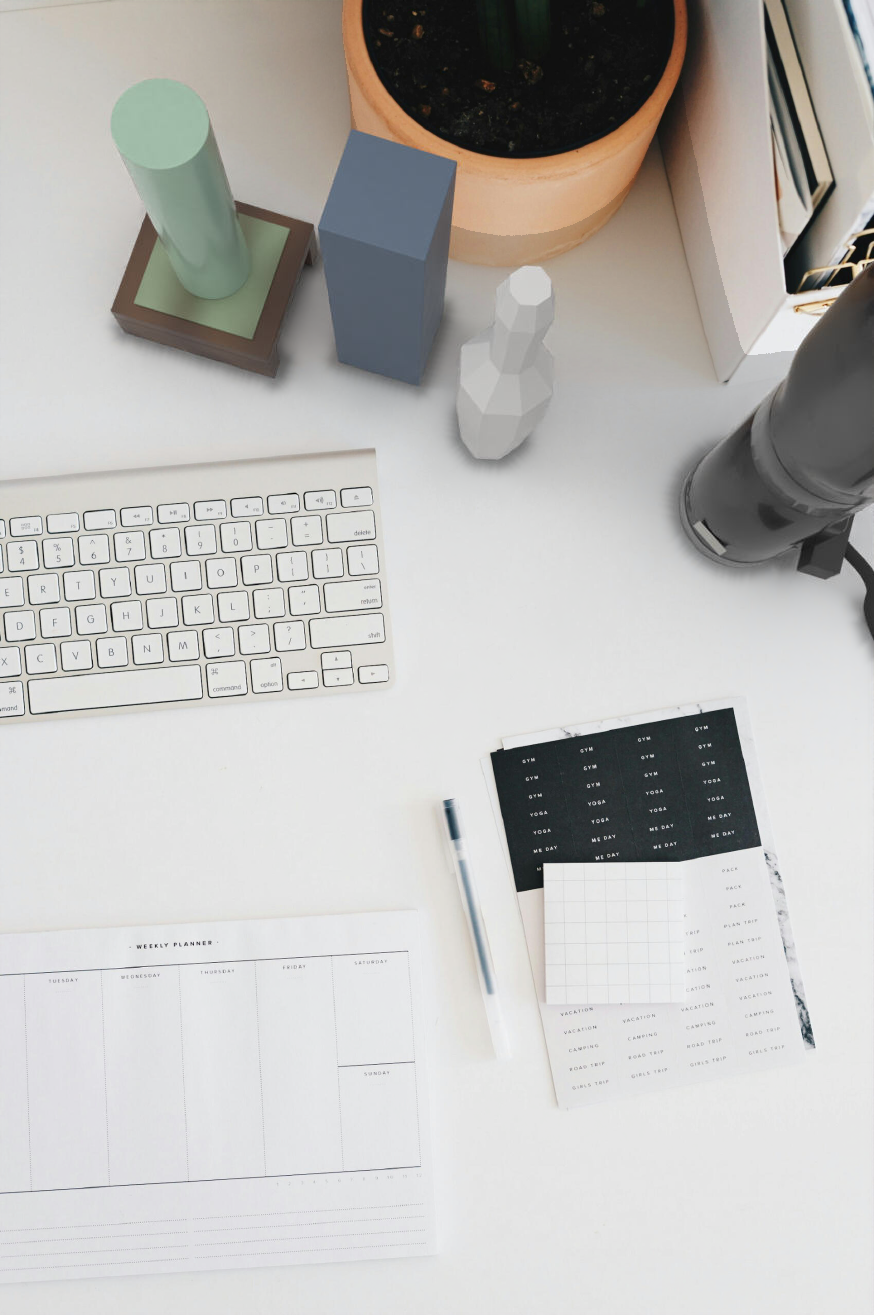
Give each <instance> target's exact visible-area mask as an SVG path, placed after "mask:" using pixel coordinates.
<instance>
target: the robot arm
mask: <svg viewBox="0 0 874 1315" xmlns="http://www.w3.org/2000/svg"><path fill="white" fill-rule="evenodd" d="M873 504H874V260H873V261H871V262H870V263H869V264H868V265H867V266H866V267H864V269H862V270H861V271H860V272H859V273H858V274H857V275H856V276H855V277H854V278H853V279H852V280H851V281H850V282H849V283H848V284H847V285H846V287H845V288H844V289H843V290H842V291H841V292H840V293H839V295H838V296H837V297H836V298H835V300H834V301H833V302H832V303H831V305H830V306H829V307H828V308H827V310H826V311H825V312H824V313H823V315H822V316H821V317H820V318H819V319H818V321H817V322H816V323H815V324H814V325H813V327H812V328H811V329H810V330H809V331H808V332H807V333H806V336H805V337H804V338H803V340H802V341H801V343H800V344H799V346H798V347H797V349H796V352H795V354H794V356H793V358H792V361H791V364H790V367H789V369H788V374H787V375H786V376H785V377H784V378H783V379H782V380H781V381H780V382H779V383H777V385H776V386H775V387H774V388H772V390H771V391H770V392H769V393H768V394H767V395H766V396H765V397H764V398H763V399H762V400H761V401H760V402H759V403H758V404H757V405H756V406H755V407H754V408H753V409H752V410H751V411H750V412H749V413H748V414H747V415H746V416H745V417H744V418H743V419H742V420H741V421H740V422H738V424H737V425H736V426H735V427H734V428H733V429H732V430H731V431H730V432H729V433H728V434H727V435H726V436H725V437H724V438H723V439H721V441H719V443H718V444H716V446H714V447H713V449H711V451H710V452H708V453H706V454H705V455H704V456H703V457H701V459H699V460H698V462H696V463H695V465H693V467H692V468H691V469H690V471H689V472H688V474H687V475H686V477H685V479H684V481H683V483H682V486H681V490H680V493H679V506H678V507H679V515H680V520H681V524H682V526H683V529H684V531H685V533H686V535H687V537H688V539H689V540H690V541H691V542H692V543H693V545H694V546H695V547H696V549H698V550H699V551H700V553H702V554H703V555H705V556H706V557H707V558H708V559H709V558H710V559H711V560H712V561H715V562H717V563H719V564H722V565H724V566H728V567H734V568H752V567H757V566H761V565H763V564H766V563H768V562H770V561H773V560H776V561H781V562H788V561H789V560H792V559H793V558H795V557H797V556H799V558H798V561H797V565H796V569H795V571H796V572H799V573H802V574H805V575H809V576H812V577H815V578H818V579H822V580H825V581H826V580H828V579H830V578H832V577H835V576H838V575H840V574H841V571H842V566H843V564H844V559H845V561H847V562H848V563H849V564H850V565H851V566H852V568H853V569H854V570H855V571H856V572H857V574H859V577H860V578H861V579H862V581H863V583H864V586H865V591H866V592H865V595H864V600H863V605H862V606H863V607H862V608H863V615H864V617H865V620H866V623H867V626H868V629H869V632H870V635H871V638H872V640H873V641H874V569H873V567H872V566H871V565H870V563H869V562H868V561H867V560H866V558H864V556H862V555H861V553H859V551H858V550H857V549H856V548H855V547H854V546H853V545H852V544H851V542H850V540H849V539H850V535H851V531H852V527H853V524H854V519H855V516H856V514H857V513H859V512H861V511H862V510H864V509H866V508H867V507H870V506H871V505H873Z"/></svg>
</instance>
